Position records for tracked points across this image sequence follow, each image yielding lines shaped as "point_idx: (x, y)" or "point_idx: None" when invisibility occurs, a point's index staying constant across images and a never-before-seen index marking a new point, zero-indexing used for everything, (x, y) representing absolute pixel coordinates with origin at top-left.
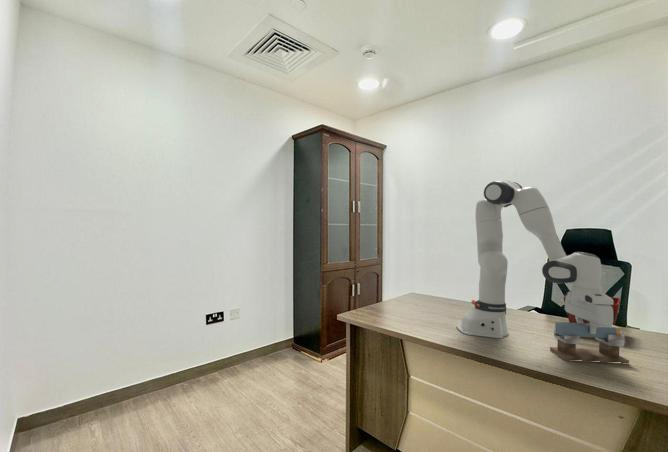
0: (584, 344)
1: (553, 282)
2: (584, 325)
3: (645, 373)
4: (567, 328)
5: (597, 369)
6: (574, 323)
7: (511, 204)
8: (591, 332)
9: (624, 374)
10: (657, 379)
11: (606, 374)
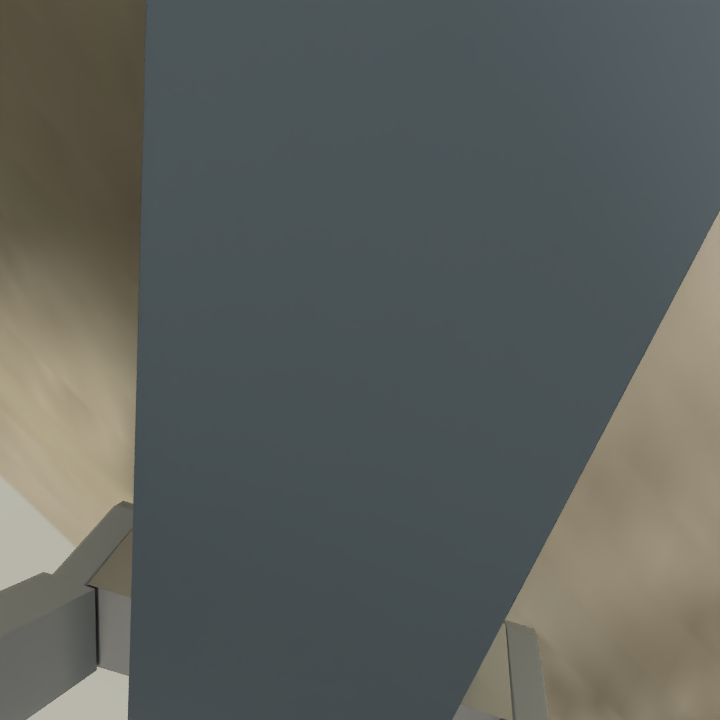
0: (681, 633)
1: None
2: (209, 638)
3: (97, 491)
4: None
5: (112, 165)
6: (435, 571)
7: None
8: (112, 522)
9: (48, 323)
10: (15, 468)
11: (12, 147)
